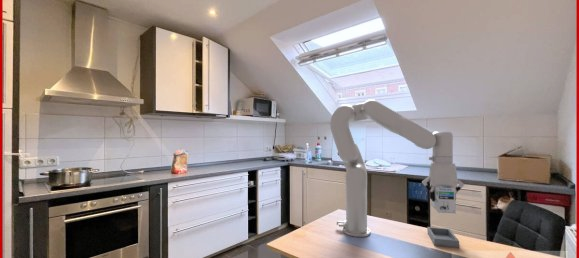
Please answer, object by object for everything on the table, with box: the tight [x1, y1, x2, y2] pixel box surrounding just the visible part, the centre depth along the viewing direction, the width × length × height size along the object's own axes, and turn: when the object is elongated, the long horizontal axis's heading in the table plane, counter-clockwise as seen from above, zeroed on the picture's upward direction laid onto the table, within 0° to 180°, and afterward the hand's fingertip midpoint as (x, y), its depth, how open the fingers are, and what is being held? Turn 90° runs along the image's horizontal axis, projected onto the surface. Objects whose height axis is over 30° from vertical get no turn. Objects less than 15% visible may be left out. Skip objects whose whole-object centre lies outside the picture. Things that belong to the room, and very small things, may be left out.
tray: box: [426, 226, 460, 249], centre depth 114 cm, size 9×13×3 cm
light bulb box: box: [430, 186, 457, 215], centre depth 114 cm, size 11×7×11 cm, turn 168°
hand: (442, 200), depth 114 cm, fingers closed on light bulb box, 7 cm apart
